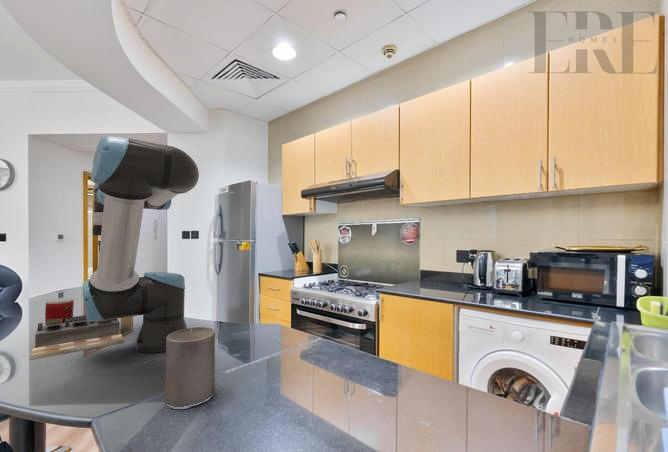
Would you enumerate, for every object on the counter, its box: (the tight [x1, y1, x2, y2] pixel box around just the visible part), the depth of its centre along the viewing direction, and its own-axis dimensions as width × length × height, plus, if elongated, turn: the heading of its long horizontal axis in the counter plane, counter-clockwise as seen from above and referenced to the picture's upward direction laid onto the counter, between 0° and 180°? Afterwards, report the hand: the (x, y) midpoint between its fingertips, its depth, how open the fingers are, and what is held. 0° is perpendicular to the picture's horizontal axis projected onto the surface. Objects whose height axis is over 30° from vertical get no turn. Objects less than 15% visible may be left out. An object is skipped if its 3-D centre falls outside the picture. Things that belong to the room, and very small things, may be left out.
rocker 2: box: [98, 319, 112, 324], centre depth 109 cm, size 9×4×1 cm, turn 40°
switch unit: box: [29, 318, 125, 360], centre depth 102 cm, size 18×22×7 cm
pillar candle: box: [164, 326, 216, 407], centre depth 67 cm, size 10×10×15 cm
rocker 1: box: [46, 318, 62, 325], centre depth 101 cm, size 9×4×1 cm, turn 41°
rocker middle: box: [73, 314, 88, 322], centre depth 105 cm, size 9×4×1 cm, turn 41°
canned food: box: [44, 297, 75, 326], centre depth 117 cm, size 8×8×11 cm
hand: (103, 290), depth 112 cm, fingers closed
